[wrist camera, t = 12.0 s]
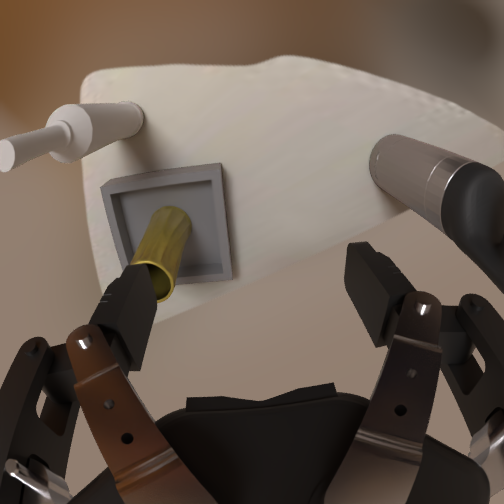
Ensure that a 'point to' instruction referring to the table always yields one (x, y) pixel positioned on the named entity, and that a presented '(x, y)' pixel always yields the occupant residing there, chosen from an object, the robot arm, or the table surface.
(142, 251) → the vase
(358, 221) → the table surface
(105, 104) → the bottle
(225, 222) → the bin
